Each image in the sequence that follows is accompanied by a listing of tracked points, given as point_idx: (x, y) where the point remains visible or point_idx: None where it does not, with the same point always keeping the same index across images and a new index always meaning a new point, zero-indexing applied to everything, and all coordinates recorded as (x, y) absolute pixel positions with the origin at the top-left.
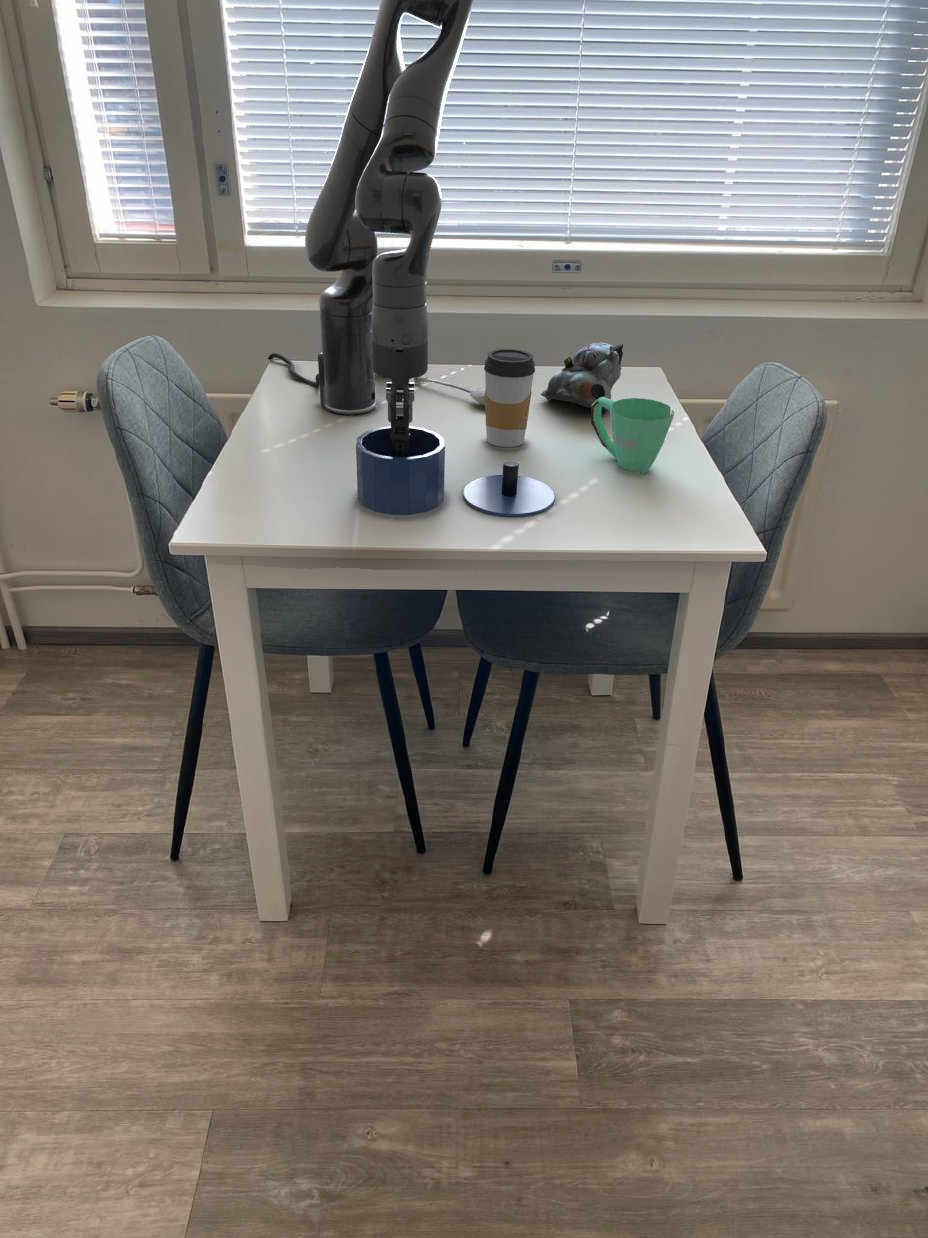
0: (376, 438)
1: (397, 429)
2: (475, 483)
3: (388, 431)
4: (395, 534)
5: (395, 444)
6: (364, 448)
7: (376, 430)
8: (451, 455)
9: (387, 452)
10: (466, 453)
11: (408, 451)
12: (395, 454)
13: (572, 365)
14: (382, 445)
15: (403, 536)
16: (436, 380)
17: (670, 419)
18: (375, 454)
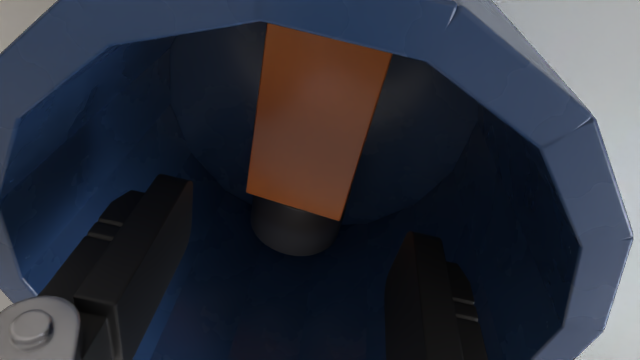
0: (543, 176)
1: (413, 351)
2: None
3: (559, 279)
4: (20, 16)
5: (47, 285)
6: (144, 31)
7: (570, 221)
8: (612, 323)
9: (515, 173)
10: (600, 353)
11: (478, 260)
12: (92, 226)
13: None
14: (531, 177)
15: (10, 42)
16: None
17: None
18: (9, 101)
